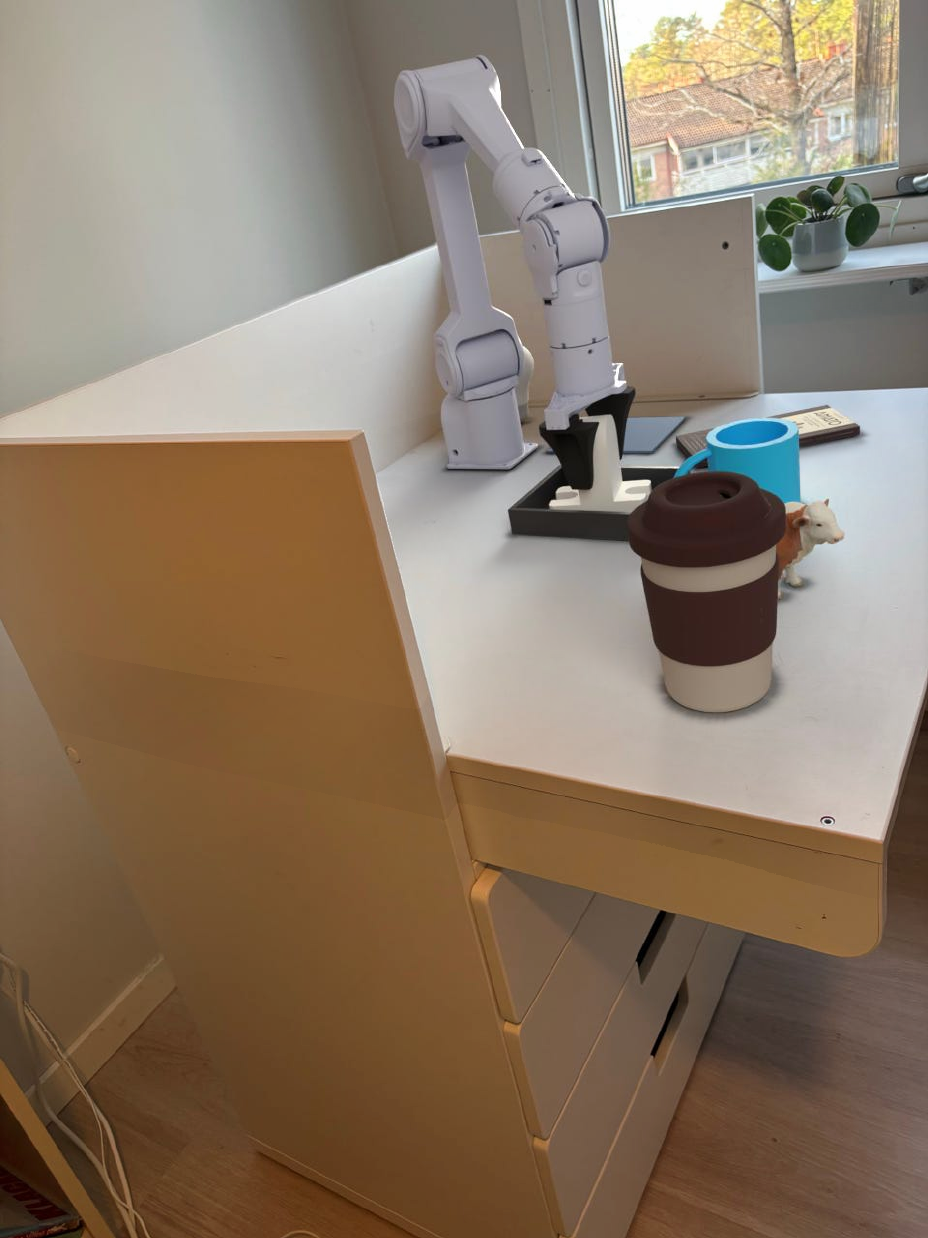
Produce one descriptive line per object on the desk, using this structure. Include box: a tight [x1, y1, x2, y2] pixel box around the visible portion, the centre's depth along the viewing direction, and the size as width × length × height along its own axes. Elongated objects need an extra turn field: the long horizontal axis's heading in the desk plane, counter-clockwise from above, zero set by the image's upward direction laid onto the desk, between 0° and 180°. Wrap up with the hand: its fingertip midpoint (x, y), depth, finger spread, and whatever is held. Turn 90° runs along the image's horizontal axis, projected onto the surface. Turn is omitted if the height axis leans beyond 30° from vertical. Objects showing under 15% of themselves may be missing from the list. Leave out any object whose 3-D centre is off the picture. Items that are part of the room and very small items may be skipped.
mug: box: [673, 417, 802, 504], centre depth 87 cm, size 12×8×8 cm
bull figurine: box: [776, 498, 845, 601], centre depth 74 cm, size 4×13×8 cm, turn 63°
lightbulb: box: [514, 345, 535, 423], centre depth 128 cm, size 6×6×11 cm
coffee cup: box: [627, 470, 786, 713], centre depth 62 cm, size 10×10×15 cm
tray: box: [507, 464, 692, 542], centre depth 96 cm, size 15×12×3 cm
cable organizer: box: [549, 415, 652, 512], centre depth 94 cm, size 5×10×10 cm, turn 72°
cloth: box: [545, 416, 687, 454], centre depth 117 cm, size 14×12×1 cm
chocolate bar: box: [675, 404, 861, 469], centre depth 106 cm, size 9×1×18 cm
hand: (597, 473), depth 95 cm, fingers open, 7 cm apart
